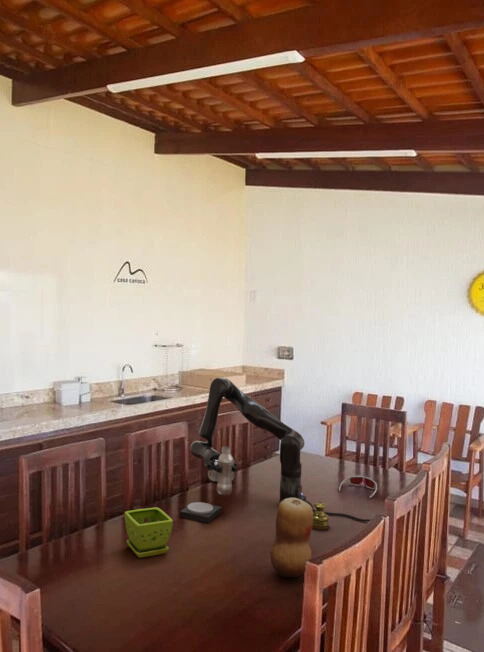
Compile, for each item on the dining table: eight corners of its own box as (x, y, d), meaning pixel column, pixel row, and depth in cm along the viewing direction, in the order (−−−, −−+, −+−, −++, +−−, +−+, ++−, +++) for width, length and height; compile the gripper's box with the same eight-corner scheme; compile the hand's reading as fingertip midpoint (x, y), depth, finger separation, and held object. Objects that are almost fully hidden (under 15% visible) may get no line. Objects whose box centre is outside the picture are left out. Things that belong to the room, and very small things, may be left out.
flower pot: (135, 562, 182) (137, 525, 182) (121, 545, 195) (123, 511, 194) (173, 555, 189) (174, 519, 189) (157, 539, 201) (158, 506, 201)
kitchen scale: (221, 512, 231) (221, 505, 231) (208, 523, 219) (208, 515, 218) (194, 506, 237) (194, 499, 237) (179, 516, 224) (180, 509, 224)
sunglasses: (381, 489, 271) (381, 479, 270) (372, 504, 257) (372, 494, 256) (347, 482, 280) (347, 473, 279) (336, 496, 266) (336, 486, 265)
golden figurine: (328, 531, 215) (329, 506, 215) (309, 529, 217) (310, 504, 217) (327, 524, 223) (329, 500, 222) (309, 522, 224) (310, 498, 224)
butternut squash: (301, 590, 169) (305, 511, 168) (263, 577, 176) (266, 501, 175) (316, 572, 180) (320, 499, 180) (279, 561, 187) (283, 490, 187)
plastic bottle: (215, 491, 232) (217, 445, 231) (230, 491, 232) (232, 445, 232) (217, 496, 225) (219, 449, 225) (233, 497, 226) (235, 450, 225)
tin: (235, 482, 273) (236, 465, 273) (235, 484, 270) (236, 467, 270) (206, 479, 275) (207, 463, 275) (206, 481, 272) (206, 465, 272)
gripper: (198, 451, 240) (212, 462, 224) (228, 450, 244) (243, 460, 228) (198, 468, 240) (211, 480, 224) (227, 466, 244) (242, 478, 229)
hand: (227, 470), depth 226 cm, fingers closed on plastic bottle, 6 cm apart
